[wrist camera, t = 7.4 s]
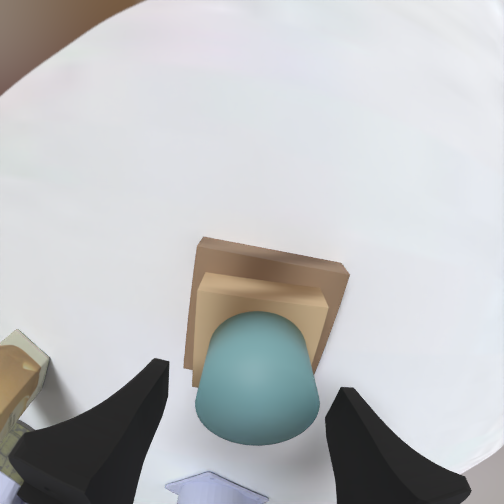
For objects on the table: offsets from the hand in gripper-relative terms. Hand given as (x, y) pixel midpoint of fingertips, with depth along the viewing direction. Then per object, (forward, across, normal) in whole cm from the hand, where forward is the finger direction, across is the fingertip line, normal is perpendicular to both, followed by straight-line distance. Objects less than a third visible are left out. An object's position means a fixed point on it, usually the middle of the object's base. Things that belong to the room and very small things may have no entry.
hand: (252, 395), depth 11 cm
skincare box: (+7, +19, +10) cm, 23 cm away
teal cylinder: (+3, 0, 0) cm, 3 cm away
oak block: (+5, 0, 0) cm, 5 cm away
